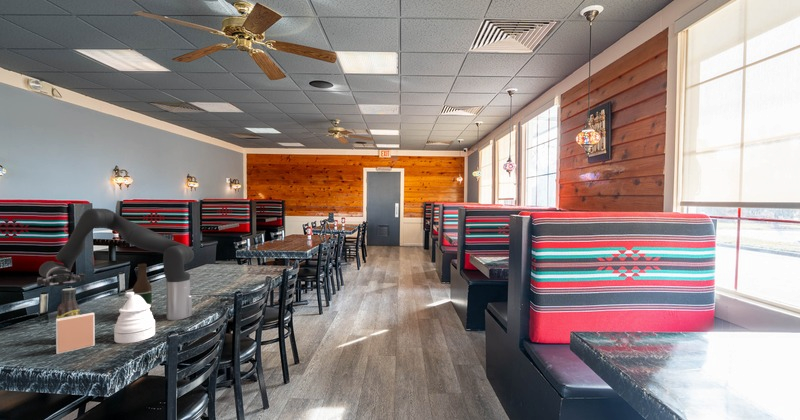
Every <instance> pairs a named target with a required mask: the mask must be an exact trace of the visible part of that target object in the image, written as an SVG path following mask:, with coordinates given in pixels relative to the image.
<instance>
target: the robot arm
mask: <svg viewBox="0 0 800 420" xmlns="http://www.w3.org/2000/svg"><path fill="white" fill-rule="evenodd" d="M94 229H108V230H111V231H113V232H116V233H117V234H119V235H120V236H121V238H122V239H123V240H124V241H125V242H126V243H127V244H129V245H132V246H134V247H136V248H138V249H140V250H141V249H142V250H146V251H150V252H156V253H161V254H163V257H162V258H163V259H162V263H163V273H164V274H163V275H164V276H165V279H166V280H165V282H166V285H165V286H166V287H165V288H166V289H165V292H166V294H165V295H166V300H165V301H166V305H165V306H166V307H165V308H166V320H168V321H176V320H177V321H178V320H179V321H180V320H183V319H186V318H187V319H188V318H189V317H191V316H192V315H193V313H192V312H193V307H192V303H193V302H192V301H193V300H192V299H193V298H192V295H191V274H190V273H189V272H188V271H185V265H186V264H189V263H190V262H192V261H193V260H194V258H195V252H194V249H192V248H191V247H190V246H189V245H186V244H184V243H180V242H177V241H175V240H172V239H170V238H168V237H167V236H166V237H165V236H164V235H161V234H160V233H157V232H155V231H153V230H151V229H149V228H146V226H145V227H144V226H143V225H140V224H138V223H135V222H133V221H130V220H128V219H126V218H124V217H123V216H120V215H119V214H117V213H116V212H114V211H112V210H111V209H108V208H89V209H86V210H85V211H84V212H83V213H82V214H81V216H80V217H79V219H78V221H77V223H76V225H75V227H74V229H73V231H72V233H71V235H70V236H69V238H68V239H67V242H66V243H65V244H64V245H63V246H62V248H61V249H59V251H58V252H57V254H56V255H55V259H56V260H57V262H55V261H52V260H50V261H49V260H47V261H45V262H43V264H41V265H40V267H39V269H38V274H39V275H40V276H41V277H40V276H38V277H37V279H36V286H37V287H41V286H42V285H43V286H46V287H51V286H54V287H63V286H66V285H67V284H69V283H71V284H72V283H76V284H80V282H84V281H86V274H85V273H83V272H80V273H78V275H76V274H75V273H72V272H71V271H72V268H73V266H74V263H75V262H76V260H77V259H78V258H79V257H80V255H81V254H82V253H83V252H84V249H85V246H86V239H87V237H88V235H89V233H91V231H92V230H94Z"/></svg>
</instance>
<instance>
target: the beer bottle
mask: <svg viewBox="0 0 800 420" xmlns="http://www.w3.org/2000/svg"><path fill="white" fill-rule="evenodd" d="M137 268H138V269H137V279H136V282H135V284H134V285H133V288H132V292H134V295H136V294H137V295H139V296H141V297H142V298H143V299H144V300H145V302H146V303H147V304H150V305H151V307H150V308H149V309H150V311H151V312H152V310H153V309H152V308H153V299H152V298H153V296H152V295H153V293H152V291H153V289H152V285H151V283H150V281H149V280H148V274H147V263H139V264H137ZM152 313H153V312H152Z"/></svg>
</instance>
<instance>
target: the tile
mask: <svg viewBox="0 0 800 420" xmlns="http://www.w3.org/2000/svg"><path fill="white" fill-rule="evenodd" d="M95 319H96V318H95V312H87V313H83V314H79V315H76V316H71V317H65V318H59V319H57V318H55V341H56V342H55V351H56V353H55V354H56V355H60V354H63V353H68V352H72V351H77V350H80V349H81V350H82V349H85V348H89V347H94V346H95V345H96V340H95V339H96V337H95V335H96V334H95V332H96V331H95V328H96V326H95V323H96V322H95Z"/></svg>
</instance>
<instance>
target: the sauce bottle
mask: <svg viewBox="0 0 800 420" xmlns="http://www.w3.org/2000/svg"><path fill="white" fill-rule="evenodd" d="M76 293H77V288H76V287H75V288H74V287H72V288H71V287H69V288H63V289H61V292H60V294H61V295H62V296H61V303H59V305H58V306H57V313H56V319H59V318H65V317H71V316H76V315H80V307H79V303H77V301H76V299H77V298H76Z"/></svg>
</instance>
